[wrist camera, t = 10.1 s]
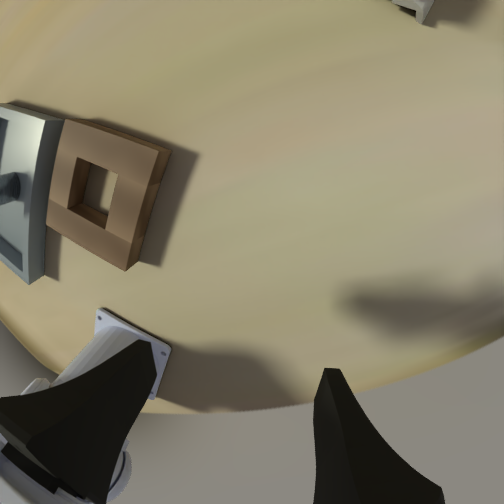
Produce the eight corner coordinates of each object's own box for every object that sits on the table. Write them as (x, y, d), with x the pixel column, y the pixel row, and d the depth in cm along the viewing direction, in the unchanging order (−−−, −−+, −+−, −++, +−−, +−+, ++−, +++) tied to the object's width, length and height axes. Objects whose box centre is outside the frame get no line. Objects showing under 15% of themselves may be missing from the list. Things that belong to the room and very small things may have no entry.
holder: (137, 261, 21) (125, 271, 19) (60, 218, 21) (45, 224, 19) (171, 150, 18) (158, 151, 16) (81, 119, 17) (65, 118, 15)
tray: (44, 275, 23) (28, 285, 21) (-9, 231, 23) (-23, 237, 21) (65, 120, 17) (45, 120, 15) (6, 103, 17) (-11, 103, 15)
